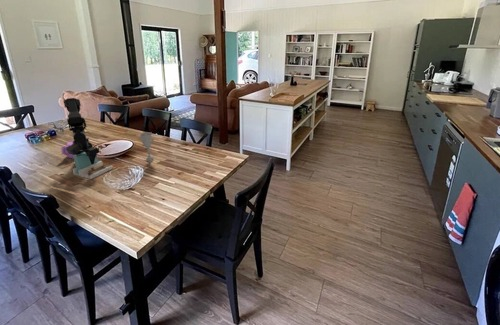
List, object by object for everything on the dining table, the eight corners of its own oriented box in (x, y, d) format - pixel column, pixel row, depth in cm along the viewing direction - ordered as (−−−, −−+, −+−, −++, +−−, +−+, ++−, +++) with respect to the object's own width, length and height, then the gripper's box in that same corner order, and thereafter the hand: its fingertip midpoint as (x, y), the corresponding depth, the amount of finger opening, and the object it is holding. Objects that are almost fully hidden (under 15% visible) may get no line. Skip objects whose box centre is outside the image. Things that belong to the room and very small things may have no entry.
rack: (74, 176, 156) (72, 169, 154) (96, 166, 169) (95, 159, 167) (91, 180, 151) (89, 173, 150) (113, 169, 164) (111, 163, 162)
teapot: (98, 152, 191) (95, 137, 186) (70, 162, 175) (65, 146, 170) (87, 149, 197) (83, 134, 192) (58, 158, 181) (53, 143, 176)
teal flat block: (78, 173, 157) (73, 156, 152) (96, 166, 167) (91, 149, 162) (81, 174, 156) (76, 157, 151) (99, 166, 166) (95, 150, 161)
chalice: (143, 162, 174) (139, 135, 167) (144, 158, 180) (140, 132, 173) (155, 161, 176) (151, 134, 168) (156, 157, 182) (152, 131, 174)
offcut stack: (88, 175, 155) (86, 169, 154) (103, 168, 163) (101, 163, 162) (94, 176, 153) (92, 170, 152) (108, 169, 162) (107, 164, 160)
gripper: (55, 140, 150) (63, 165, 156) (78, 144, 143) (86, 171, 149) (74, 134, 159) (80, 158, 165) (96, 138, 152) (103, 163, 159)
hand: (87, 163), depth 159 cm, fingers open, 9 cm apart
